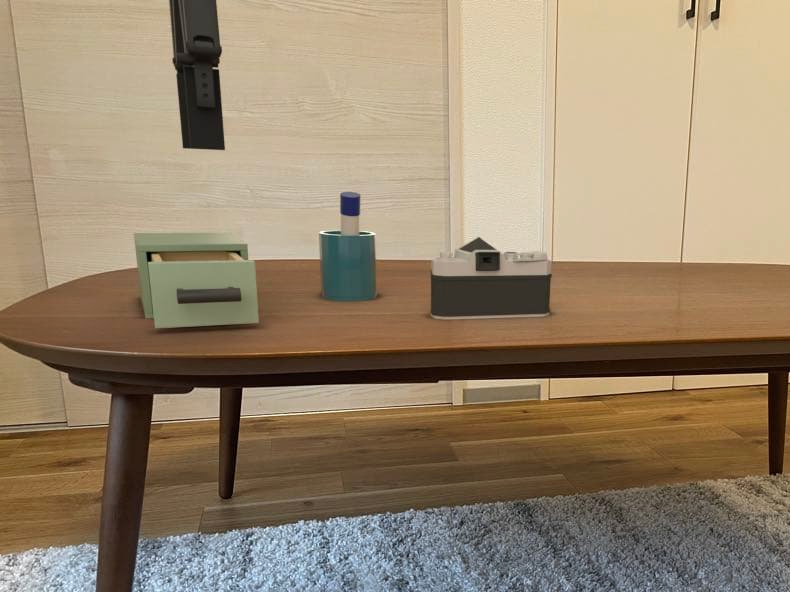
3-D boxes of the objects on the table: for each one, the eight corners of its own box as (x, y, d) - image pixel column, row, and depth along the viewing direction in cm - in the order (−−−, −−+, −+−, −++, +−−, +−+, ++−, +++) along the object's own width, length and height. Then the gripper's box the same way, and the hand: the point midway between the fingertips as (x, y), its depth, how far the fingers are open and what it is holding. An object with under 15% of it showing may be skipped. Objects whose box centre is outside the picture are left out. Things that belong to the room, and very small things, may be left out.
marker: (342, 295, 106) (343, 197, 99) (337, 288, 108) (338, 191, 101) (361, 294, 107) (363, 197, 101) (356, 287, 109) (357, 191, 103)
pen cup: (329, 304, 103) (326, 235, 101) (316, 295, 109) (313, 230, 107) (383, 302, 107) (382, 235, 104) (368, 293, 113) (366, 230, 110)
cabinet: (252, 315, 94) (247, 243, 92) (145, 320, 89) (137, 244, 86) (236, 297, 106) (231, 232, 103) (141, 300, 100) (133, 233, 98)
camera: (533, 307, 108) (536, 233, 105) (557, 319, 100) (561, 240, 97) (420, 310, 102) (420, 232, 99) (436, 323, 94) (436, 239, 91)
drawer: (265, 330, 82) (261, 266, 80) (157, 337, 78) (150, 268, 76) (242, 303, 96) (238, 248, 94) (149, 307, 92) (143, 249, 90)
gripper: (245, -176, 57) (265, 152, 64) (213, -103, 74) (231, 150, 81) (130, -202, 54) (164, 147, 60) (124, -120, 70) (151, 147, 77)
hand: (203, 148), depth 70 cm, fingers open, 7 cm apart
